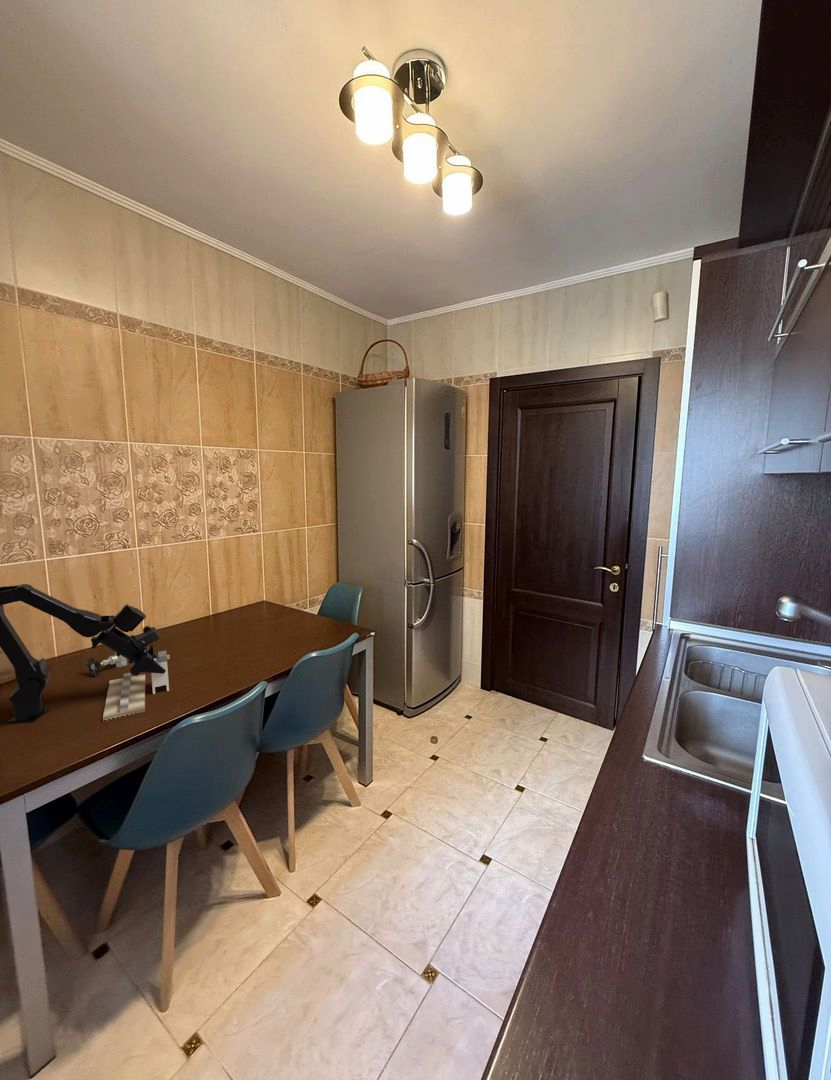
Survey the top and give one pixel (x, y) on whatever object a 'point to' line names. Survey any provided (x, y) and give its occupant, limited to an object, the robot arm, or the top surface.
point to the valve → (105, 663)
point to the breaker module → (157, 677)
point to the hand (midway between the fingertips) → (164, 669)
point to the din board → (117, 696)
